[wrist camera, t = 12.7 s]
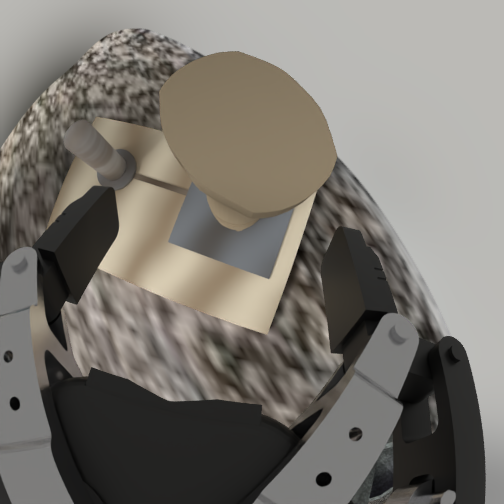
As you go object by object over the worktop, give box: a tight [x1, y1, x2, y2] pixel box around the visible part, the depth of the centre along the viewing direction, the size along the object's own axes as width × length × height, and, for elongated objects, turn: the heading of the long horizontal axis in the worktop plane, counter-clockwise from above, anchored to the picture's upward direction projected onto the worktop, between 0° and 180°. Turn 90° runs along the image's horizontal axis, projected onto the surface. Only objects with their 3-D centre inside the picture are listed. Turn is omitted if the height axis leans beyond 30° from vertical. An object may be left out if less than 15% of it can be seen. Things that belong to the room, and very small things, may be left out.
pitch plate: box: [46, 117, 317, 334], centre depth 19 cm, size 24×14×10 cm, turn 70°
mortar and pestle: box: [351, 433, 393, 504], centre depth 18 cm, size 11×9×12 cm
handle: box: [159, 51, 337, 231], centre depth 15 cm, size 5×6×15 cm
